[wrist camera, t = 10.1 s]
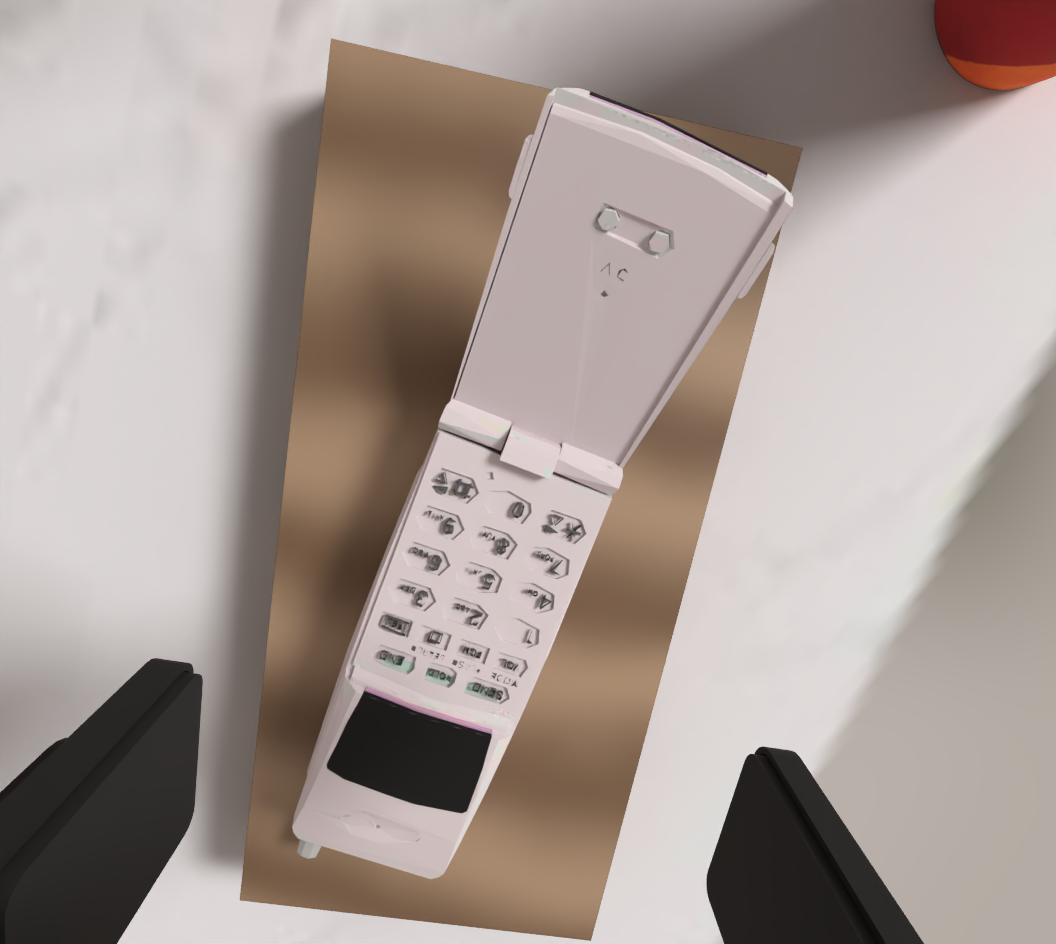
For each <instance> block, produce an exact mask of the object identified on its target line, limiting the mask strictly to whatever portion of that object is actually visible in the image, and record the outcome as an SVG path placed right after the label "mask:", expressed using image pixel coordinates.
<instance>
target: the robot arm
mask: <svg viewBox="0 0 1056 944" xmlns="http://www.w3.org/2000/svg"><path fill="white" fill-rule="evenodd" d="M202 684H203V681H202V676H201V675H200V674H194V673H193V667H192V665H191V664H190V663H184V662H177V661H170V660H163V659H157V658H155V659H151V660H150V661H148V662H147V663H146V664H145V665H144V666H143V667H142V668H141V669H140V670H139V671H137V672H136V673H135V674H134V675H133V676H132V677H131V678H130V679H129V680H128V681H127V682H126V683H125V684H124V685H123V686H122V687H121V688H120V689H119V690H118V691H117V692H116V693H114V694H113V695H112V696H111V697H110V698H109V699H108V700H107V701H106V702H105V703H104V704H103V705H102V706H101V707H100V708H99V709H98V710H97V711H96V712H95V713H94V714H92V715H91V716H90V717H89V718H88V719H87V720H86V721H85V722H84V723H83V724H82V725H81V726H80V727H79V728H78V729H77V730H76V731H75V732H74V733H73V734H72V735H71V736H69V737H68V738H64V739H61V740H59V741H57V742H55V743H54V744H53V745H51V746H50V747H49V748H47V749H46V750H45V751H44V752H43V753H42V754H41V755H40V756H39V757H38V758H37V759H36V760H35V761H34V762H32V763H31V764H30V765H29V766H28V767H27V768H26V769H25V770H24V771H23V772H22V773H21V774H20V775H19V776H17V777H16V778H15V779H14V780H13V781H12V782H11V783H10V784H9V785H8V786H7V787H6V788H5V789H4V790H3V791H1V792H0V944H117V942H118V941H119V939H120V938H121V936H122V934H123V933H124V931H125V930H126V928H127V926H128V925H129V923H130V922H131V920H132V918H133V917H134V915H135V914H136V912H137V910H138V909H139V907H140V906H141V904H142V902H143V901H144V899H145V898H146V896H147V894H148V893H149V891H150V890H151V888H152V886H153V885H154V883H155V882H156V880H157V878H158V877H159V875H160V874H161V872H162V870H163V869H164V867H165V866H166V864H167V862H168V861H169V859H170V858H171V856H172V854H173V853H174V851H175V850H176V848H177V846H178V845H179V843H180V842H181V840H182V838H183V837H184V835H185V833H186V831H187V829H188V827H189V825H190V822H191V819H192V816H193V812H194V806H195V791H196V776H197V760H198V745H199V730H200V715H201V699H202ZM707 893H708V897H709V901H710V904H711V907H712V910H713V912H714V915H715V918H716V921H717V924H718V927H719V930H720V933H721V936H722V938H723V941H724V944H924V943H923V941H922V940H921V939H920V937H919V936H918V934H917V932H916V931H915V929H914V928H913V926H912V925H911V923H910V922H909V920H908V919H907V917H906V916H905V915H904V913H903V911H902V910H901V908H900V907H899V905H898V904H897V903H896V901H895V899H894V898H893V897H892V895H891V893H890V892H889V891H888V889H887V887H886V886H885V885H884V883H883V881H882V880H881V878H880V877H879V876H878V874H877V873H876V871H875V869H874V868H873V866H872V865H871V864H870V862H869V860H868V859H867V858H866V856H865V854H864V853H863V851H862V850H861V848H860V847H859V845H858V844H857V843H856V841H855V840H854V838H853V836H852V835H851V833H850V832H849V831H848V829H847V828H846V826H845V824H844V823H843V821H842V820H841V819H840V817H839V815H838V814H837V813H836V811H835V809H834V808H833V806H832V805H831V804H830V802H829V800H828V799H827V797H826V796H825V794H824V793H823V792H822V790H821V788H820V787H819V785H818V784H817V782H816V781H815V779H814V778H813V776H812V775H811V773H810V772H809V770H808V769H807V767H806V766H805V764H804V763H803V761H802V760H801V758H800V757H799V756H798V755H797V754H796V753H795V752H793V751H789V750H782V749H776V748H769V747H759V748H758V749H757V750H756V752H755V754H749V755H748V756H747V758H746V760H745V762H744V765H743V768H742V771H741V774H740V777H739V780H738V783H737V786H736V789H735V792H734V795H733V798H732V801H731V804H730V807H729V810H728V813H727V816H726V819H725V822H724V825H723V828H722V831H721V834H720V837H719V840H718V843H717V846H716V849H715V852H714V855H713V858H712V861H711V864H710V867H709V870H708V874H707Z"/></svg>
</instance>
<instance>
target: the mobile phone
mask: <svg viewBox="0 0 1056 944" xmlns="http://www.w3.org/2000/svg"><path fill="white" fill-rule="evenodd" d="M509 197H510V198H511V199H512V200H511V203H510V206H509V209H508V212H507V215H506V218H505V222H504V225H503V228H502V232H501V235H500V238H499V241H498V245H497V248H496V251H495V255H494V258H493V261H492V265H491V268H490V271H489V275H488V278H487V281H486V285H485V288H484V291H483V295H482V298H481V301H480V305H479V308H478V311H477V314H476V318H475V321H474V324H473V328H472V331H471V334H470V338H469V341H468V344H467V348H466V351H465V354H464V358H463V361H462V364H461V368H460V371H459V374H458V378H457V381H456V384H455V387H454V391H453V394H452V397H451V401H450V402H449V403H448V404H447V405H446V407H445V409H444V411H443V414H442V416H441V418H440V420H439V424H438V429H437V432H436V434H435V437H434V439H433V441H432V444H431V446H430V449H429V451H428V454H427V456H426V459H425V461H424V463H423V465H422V466H421V468H420V469H419V471H418V472H417V475H416V477H415V479H414V482H413V484H412V487H411V489H410V492H409V494H408V497H407V499H406V502H405V504H404V507H403V509H402V511H401V514H400V516H399V519H398V521H397V524H396V526H395V529H394V531H393V534H392V536H391V539H390V541H389V544H388V546H387V549H386V551H385V554H384V556H383V559H382V561H381V564H380V567H379V569H378V572H377V574H376V577H375V580H374V582H373V585H372V587H371V590H370V592H369V595H368V598H367V600H366V603H365V605H364V608H363V611H362V613H361V616H360V618H359V621H358V623H357V626H356V629H355V631H354V634H353V636H352V639H351V642H350V644H349V647H348V650H347V653H346V656H345V659H344V662H343V665H342V668H341V671H340V674H339V677H338V679H337V682H336V685H335V688H334V691H333V694H332V697H331V700H330V703H329V706H328V709H327V712H326V715H325V718H324V721H323V724H322V728H321V731H320V734H319V737H318V740H317V743H316V746H315V749H314V752H313V755H312V758H311V761H310V764H309V767H308V770H307V778H306V781H305V784H304V787H303V790H302V793H301V796H300V799H299V802H298V805H297V808H296V811H295V814H294V820H293V826H292V828H293V833H294V834H295V835H296V837H297V838H298V839H300V842H299V846H298V850H297V852H298V853H299V855H300V856H302V857H305V858H308V859H309V858H315V857H316V856H317V854H318V852H319V850H320V848H321V846H323V847H327V848H330V849H333V850H337V851H340V852H343V853H346V854H350V855H353V856H356V857H359V858H363V859H366V860H369V861H373V862H376V863H379V864H382V865H386V866H389V867H392V868H395V869H399V870H402V871H405V872H408V873H412V874H415V875H418V876H422V877H425V878H428V879H433V878H438V877H440V876H441V875H443V874H444V873H445V871H446V869H447V867H448V865H449V863H450V861H451V860H452V858H453V856H454V854H455V852H456V850H457V848H458V846H459V844H460V842H461V841H462V839H463V837H464V835H465V833H466V831H467V829H468V827H469V825H470V823H471V821H472V819H473V817H474V815H475V813H476V811H477V809H478V807H479V805H480V803H481V801H482V799H483V797H484V795H485V793H486V791H487V789H488V786H489V784H490V782H491V780H492V778H493V776H494V774H495V772H496V769H497V767H498V765H499V763H500V761H501V759H502V757H503V754H504V752H505V750H506V748H507V746H508V744H509V742H510V740H511V737H512V735H513V733H514V731H515V729H516V726H517V724H518V722H519V720H520V718H521V715H522V713H523V711H524V709H525V707H526V704H527V702H528V700H529V698H530V695H531V693H532V691H533V689H534V686H535V684H536V682H537V680H538V677H539V675H540V673H541V671H542V668H543V666H544V664H545V662H546V659H547V657H548V655H549V652H550V650H551V647H552V645H553V642H554V640H555V637H556V635H557V633H558V630H559V628H560V625H561V623H562V620H563V618H564V615H565V613H566V610H567V608H568V606H569V603H570V601H571V598H572V596H573V593H574V591H575V588H576V586H577V583H578V581H579V579H580V576H581V574H582V571H583V569H584V566H585V564H586V561H587V559H588V556H589V554H590V552H591V549H592V547H593V544H594V542H595V539H596V537H597V534H598V532H599V529H600V527H601V524H602V522H603V520H604V517H605V515H606V512H607V510H608V507H609V505H610V502H611V500H612V495H613V494H614V493H615V492H616V491H617V490H618V489H619V487H620V484H621V481H622V478H623V467H624V466H625V464H626V463H627V461H628V460H629V458H630V457H631V455H632V454H633V452H634V451H635V449H636V448H637V446H638V445H639V443H640V442H641V440H642V439H643V437H644V436H645V434H646V433H647V431H648V430H649V428H650V427H651V425H652V424H653V422H654V421H655V419H656V418H657V416H658V415H659V413H660V412H661V410H662V409H663V407H664V406H665V404H666V403H667V401H668V400H669V398H670V397H671V395H672V393H673V392H674V390H675V389H676V387H677V386H678V384H679V383H680V381H681V380H682V378H683V377H684V375H685V374H686V372H687V371H688V369H689V368H690V366H691V365H692V363H693V362H694V360H695V359H696V357H697V356H698V354H699V353H700V351H701V350H702V348H703V347H704V345H705V344H706V342H707V341H708V339H709V338H710V336H711V335H712V333H713V332H714V330H715V329H716V327H717V326H718V324H719V323H720V321H721V320H722V318H723V317H724V315H725V314H726V312H727V311H728V309H729V308H730V307H731V306H732V304H733V303H734V301H735V299H736V298H743V297H744V296H745V295H746V294H747V293H748V291H749V290H750V288H751V287H752V285H753V284H754V282H755V281H756V279H757V278H758V276H759V275H760V273H761V272H762V270H763V269H764V267H765V265H766V264H767V262H768V261H769V259H770V258H771V256H772V254H773V252H774V249H775V245H774V244H773V243H771V242H772V241H773V239H774V237H775V236H776V234H777V233H778V231H779V229H780V228H781V226H782V225H783V223H784V221H785V220H786V218H787V217H788V215H789V213H790V212H791V210H792V209H793V195H792V194H791V193H790V192H789V191H788V190H787V189H786V188H785V187H784V186H783V185H782V184H781V183H780V182H779V181H778V180H777V179H775V178H774V177H772V176H770V175H769V174H768V173H767V172H765V171H763V170H761V169H759V168H757V167H755V166H753V165H751V164H750V163H748V162H746V161H744V160H742V159H740V158H738V157H736V156H734V155H732V154H730V153H728V152H726V151H724V150H722V149H720V148H718V147H716V146H714V145H712V144H710V143H708V142H706V141H704V140H702V139H700V138H698V137H696V136H694V135H692V134H690V133H688V132H686V131H684V130H683V129H681V128H679V127H677V126H675V125H673V124H671V123H669V122H667V121H665V120H663V119H661V118H658V117H656V116H653V115H650V114H648V113H645V112H643V111H640V110H637V109H635V108H632V107H629V106H627V105H624V104H622V103H619V102H616V101H614V100H611V99H609V98H606V97H603V96H601V95H598V94H596V93H593V92H590V91H587V90H584V89H581V88H558V87H557V88H556V89H554V90H553V91H552V92H551V93H549V94H548V95H547V98H546V101H545V103H544V106H543V109H542V112H541V115H540V118H539V121H538V124H537V127H536V130H535V133H534V135H529V136H528V137H527V138H526V139H525V142H524V145H523V148H522V151H521V154H520V157H519V160H518V162H517V165H516V169H515V172H514V175H513V178H512V182H511V185H510V188H509ZM467 356H468V358H467ZM466 358H467V361H466ZM465 361H466V364H465ZM464 364H465V367H464ZM463 367H464V371H463V374H462V377H461V380H460V383H459V386H458V390H457V393H456V396H455V397H454V398H453V396H454V393H455V390H456V387H457V385H458V382H459V379H460V376H461V373H462V370H463Z"/></svg>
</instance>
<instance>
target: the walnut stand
mask: <svg viewBox="0 0 1056 944" xmlns="http://www.w3.org/2000/svg"><path fill="white" fill-rule="evenodd" d="M552 91H553V90H550V89H546V88H542V87H537V86H533V85H529V84H525V83H520V82H516V81H512V80H507V79H503V78H499V77H494V76H490V75H486V74H481V73H477V72H473V71H469V70H464V69H460V68H456V67H451V66H447V65H443V64H438V63H434V62H430V61H426V60H421V59H417V58H413V57H408V56H404V55H400V54H395V53H391V52H387V51H383V50H378V49H374V48H370V47H365V46H361V45H357V44H352V43H348V42H344V41H339V40H335V39H331V44H330V54H329V63H328V73H327V82H326V92H325V101H324V110H323V120H322V129H321V139H320V148H319V158H318V167H317V177H316V186H315V195H314V205H313V214H312V224H311V233H310V243H309V252H308V261H307V271H306V280H305V290H304V299H303V309H302V318H301V328H300V337H299V346H298V356H297V365H296V375H295V384H294V394H293V403H292V413H291V422H290V431H289V441H288V450H287V460H286V469H285V479H284V488H283V497H282V507H281V516H280V526H279V535H278V545H277V554H276V564H275V573H274V582H273V592H272V601H271V611H270V620H269V630H268V639H267V648H266V658H265V667H264V677H263V686H262V696H261V705H260V715H259V724H258V733H257V743H256V752H255V762H254V771H253V781H252V790H251V799H250V809H249V818H248V828H247V837H246V847H245V856H244V866H243V875H242V884H241V894H240V900H242V901H250V902H259V903H268V904H277V905H285V906H294V907H303V908H311V909H320V910H329V911H338V912H346V913H355V914H364V915H372V916H381V917H390V918H398V919H407V920H416V921H425V922H433V923H442V924H451V925H459V926H468V927H477V928H486V929H494V930H503V931H512V932H520V933H529V934H538V935H546V936H555V937H564V938H573V939H581V940H590V941H591V938H592V934H593V931H594V927H595V923H596V919H597V916H598V912H599V908H600V904H601V901H602V897H603V893H604V889H605V886H606V882H607V878H608V874H609V871H610V867H611V863H612V859H613V856H614V852H615V848H616V844H617V841H618V837H619V833H620V829H621V826H622V822H623V818H624V814H625V811H626V807H627V803H628V800H629V796H630V792H631V788H632V785H633V781H634V777H635V773H636V770H637V766H638V762H639V758H640V755H641V751H642V747H643V743H644V740H645V736H646V732H647V728H648V725H649V721H650V717H651V713H652V710H653V706H654V702H655V698H656V695H657V691H658V687H659V683H660V680H661V676H662V672H663V668H664V665H665V661H666V657H667V653H668V650H669V646H670V642H671V639H672V635H673V631H674V627H675V624H676V620H677V616H678V612H679V609H680V605H681V601H682V597H683V594H684V590H685V586H686V582H687V579H688V575H689V571H690V567H691V564H692V560H693V556H694V552H695V549H696V545H697V541H698V537H699V534H700V530H701V526H702V522H703V519H704V515H705V511H706V507H707V504H708V500H709V496H710V492H711V489H712V485H713V481H714V478H715V474H716V470H717V466H718V463H719V459H720V455H721V451H722V448H723V444H724V440H725V436H726V433H727V429H728V425H729V421H730V418H731V414H732V410H733V406H734V403H735V399H736V395H737V391H738V388H739V384H740V380H741V376H742V373H743V369H744V365H745V361H746V358H747V354H748V350H749V346H750V343H751V339H752V335H753V331H754V328H755V324H756V320H757V317H758V313H759V309H760V305H761V302H762V298H763V294H764V290H765V287H766V283H767V279H768V275H769V272H770V268H771V264H772V260H773V257H774V253H775V249H776V245H777V242H778V238H779V234H780V230H781V228H780V229H779V231H778V233H777V234H776V236H775V237H774V239H773V241H772V242H771V243H773V244H774V245H775V249H774V252H773V254H772V256H771V258H770V259H769V261H768V262H767V264H766V265H765V267H764V269H763V270H762V272H761V273H760V275H759V276H758V278H757V279H756V281H755V282H754V284H753V285H752V287H751V288H750V290H749V291H748V293H747V294H746V295H745V296H744V297H743V298H736V299H735V301H734V303H733V304H732V306H731V307H730V308H729V309H728V311H727V312H726V314H725V315H724V317H723V318H722V320H721V321H720V323H719V324H718V326H717V327H716V329H715V330H714V332H713V333H712V335H711V336H710V338H709V339H708V341H707V342H706V344H705V345H704V347H703V348H702V350H701V351H700V353H699V354H698V356H697V357H696V359H695V360H694V362H693V363H692V365H691V366H690V368H689V369H688V371H687V372H686V374H685V375H684V377H683V378H682V380H681V381H680V383H679V384H678V386H677V387H676V389H675V390H674V392H673V393H672V395H671V397H670V398H669V400H668V401H667V403H666V404H665V406H664V407H663V409H662V410H661V412H660V413H659V415H658V416H657V418H656V419H655V421H654V422H653V424H652V425H651V427H650V428H649V430H648V431H647V433H646V434H645V436H644V437H643V439H642V440H641V442H640V443H639V445H638V446H637V448H636V449H635V451H634V452H633V454H632V455H631V457H630V458H629V460H628V461H627V463H626V464H625V466H624V467H623V478H622V481H621V484H620V487H619V489H618V490H617V491H616V492H615V493H614V494H613V495H612V500H611V502H610V505H609V507H608V510H607V512H606V515H605V517H604V520H603V522H602V524H601V527H600V529H599V532H598V534H597V537H596V539H595V542H594V544H593V547H592V549H591V552H590V554H589V556H588V559H587V561H586V564H585V566H584V569H583V571H582V574H581V576H580V579H579V581H578V583H577V586H576V588H575V591H574V593H573V596H572V598H571V601H570V603H569V606H568V608H567V610H566V613H565V615H564V618H563V620H562V623H561V625H560V628H559V630H558V633H557V635H556V637H555V640H554V642H553V645H552V647H551V650H550V652H549V655H548V657H547V659H546V662H545V664H544V666H543V668H542V671H541V673H540V675H539V677H538V680H537V682H536V684H535V686H534V689H533V691H532V693H531V695H530V698H529V700H528V702H527V704H526V707H525V709H524V711H523V713H522V715H521V718H520V720H519V722H518V724H517V726H516V729H515V731H514V733H513V735H512V737H511V740H510V742H509V744H508V746H507V748H506V750H505V752H504V754H503V757H502V759H501V761H500V763H499V765H498V767H497V769H496V772H495V774H494V776H493V778H492V780H491V782H490V784H489V786H488V789H487V791H486V793H485V795H484V797H483V799H482V801H481V803H480V805H479V807H478V809H477V811H476V813H475V815H474V817H473V819H472V821H471V823H470V825H469V827H468V829H467V831H466V833H465V835H464V837H463V839H462V841H461V842H460V844H459V846H458V848H457V850H456V852H455V854H454V856H453V858H452V860H451V861H450V863H449V865H448V867H447V869H446V871H445V873H444V874H443V875H441V876H440V877H438V878H433V879H428V878H425V877H422V876H418V875H415V874H412V873H408V872H405V871H402V870H399V869H395V868H392V867H389V866H386V865H382V864H379V863H376V862H373V861H369V860H366V859H363V858H359V857H356V856H353V855H350V854H346V853H343V852H340V851H337V850H333V849H330V848H327V847H323V846H321V848H320V850H319V852H318V854H317V856H316V857H315V858H309V859H308V858H305V857H302V856H300V855H299V853H298V852H297V850H298V846H299V842H300V839H298V838H297V837H296V835H295V834H294V833H293V828H292V826H293V820H294V814H295V811H296V808H297V805H298V802H299V799H300V796H301V793H302V790H303V787H304V784H305V781H306V778H307V770H308V767H309V764H310V761H311V758H312V755H313V752H314V749H315V746H316V743H317V740H318V737H319V734H320V731H321V728H322V724H323V721H324V718H325V715H326V712H327V709H328V706H329V703H330V700H331V697H332V694H333V691H334V688H335V685H336V682H337V679H338V677H339V674H340V671H341V668H342V665H343V662H344V659H345V656H346V653H347V650H348V647H349V644H350V642H351V639H352V636H353V634H354V631H355V629H356V626H357V623H358V621H359V618H360V616H361V613H362V611H363V608H364V605H365V603H366V600H367V598H368V595H369V592H370V590H371V587H372V585H373V582H374V580H375V577H376V574H377V572H378V569H379V567H380V564H381V561H382V559H383V556H384V554H385V551H386V549H387V546H388V544H389V541H390V539H391V536H392V534H393V531H394V529H395V526H396V524H397V521H398V519H399V516H400V514H401V511H402V509H403V507H404V504H405V502H406V499H407V497H408V494H409V492H410V489H411V487H412V484H413V482H414V479H415V477H416V475H417V472H418V471H419V469H420V468H421V466H422V465H423V463H424V461H425V459H426V456H427V454H428V451H429V449H430V446H431V444H432V441H433V439H434V437H435V434H436V432H437V429H438V424H439V420H440V418H441V416H442V414H443V411H444V409H445V407H446V405H447V404H448V403H449V402H450V401H451V397H452V394H453V391H454V387H455V384H456V381H457V378H458V374H459V371H460V368H461V364H462V361H463V358H464V354H465V351H466V348H467V344H468V341H469V338H470V334H471V331H472V328H473V324H474V321H475V318H476V314H477V311H478V308H479V305H480V301H481V298H482V295H483V291H484V288H485V285H486V281H487V278H488V275H489V271H490V268H491V265H492V261H493V258H494V255H495V251H496V248H497V245H498V241H499V238H500V235H501V232H502V228H503V225H504V222H505V218H506V215H507V212H508V209H509V206H510V203H511V200H512V199H511V198H510V197H509V188H510V185H511V182H512V178H513V175H514V172H515V169H516V165H517V162H518V160H519V157H520V154H521V151H522V148H523V145H524V142H525V139H526V138H527V137H528V136H529V135H534V133H535V130H536V127H537V124H538V121H539V118H540V115H541V112H542V109H543V106H544V103H545V101H546V98H547V95H548V94H549V93H551V92H552ZM640 111H641V110H640ZM643 112H645V111H643ZM645 113H648V114H650V115H653V116H656V117H658V118H661V119H663V120H665V121H667V122H669V123H671V124H673V125H675V126H677V127H679V128H681V129H683V130H684V131H686V132H688V133H690V134H692V135H694V136H696V137H698V138H700V139H702V140H704V141H706V142H708V143H710V144H712V145H714V146H716V147H718V148H720V149H722V150H724V151H726V152H728V153H730V154H732V155H734V156H736V157H738V158H740V159H742V160H744V161H746V162H748V163H750V164H751V165H753V166H755V167H757V168H759V169H761V170H763V171H765V172H767V173H768V174H769V175H770V176H772V177H774V178H775V179H777V180H778V181H779V182H780V183H781V184H782V185H783V186H784V187H785V188H786V189H787V190H788V191H789V192H790V193H791V189H792V185H793V182H794V178H795V174H796V170H797V167H798V163H799V159H800V156H801V152H802V148H800V147H796V146H791V145H787V144H783V143H778V142H774V141H770V140H765V139H761V138H757V137H753V136H748V135H744V134H740V133H735V132H731V131H727V130H722V129H718V128H714V127H710V126H705V125H701V124H697V123H692V122H688V121H684V120H679V119H675V118H671V117H667V116H662V115H658V114H654V113H649V112H645ZM781 227H782V226H781ZM467 358H468V356H467ZM467 358H466V361H467ZM466 361H465V364H466ZM465 364H464V367H465ZM464 367H463V370H462V373H461V376H460V379H459V382H458V385H457V387H456V390H455V393H454V396H453V398H454V397H455V396H456V393H457V390H458V386H459V383H460V380H461V377H462V374H463V371H464Z"/></svg>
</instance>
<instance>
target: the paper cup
mask: <svg viewBox="0 0 1056 944" xmlns="http://www.w3.org/2000/svg"><path fill="white" fill-rule="evenodd" d="M934 18H935V28H936V33H937V37H938V40H939V43H940V46H941V49H942V51H943V53H944V55H945V57H946V58H947V60H948V62H949V63H950V64H951V66H952V67H953V68H954V69H955V70H956V71H957V72H958V73H959V74H960V75H961V76H962V77H963V78H965V79H966V80H968V81H969V82H971V83H973V84H975V85H977V86H980V87H983V88H987V89H992V90H1011V89H1016V88H1021V87H1025V86H1028V85H1032V84H1034V83H1037V82H1040V81H1043V80H1046V79H1049V78H1052V77H1054V76H1056V0H935V5H934Z"/></svg>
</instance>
